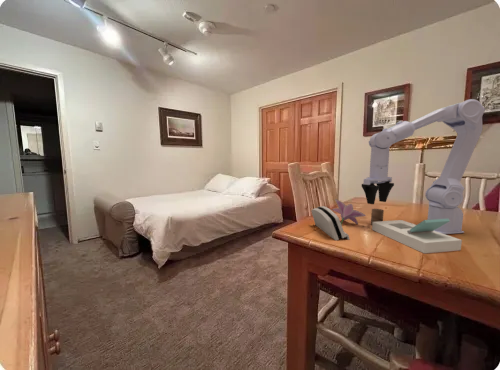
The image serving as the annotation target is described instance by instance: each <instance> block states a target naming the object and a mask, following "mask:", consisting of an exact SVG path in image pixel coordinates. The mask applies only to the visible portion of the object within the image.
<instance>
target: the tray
mask: <svg viewBox="0 0 500 370" xmlns="http://www.w3.org/2000/svg"><path fill="white" fill-rule="evenodd" d="M416 225H417V224H415V223H412V222H409V221H406V220H402V219H397V220H395V219H393V220H383V221H377V222H372V225H371V230H372V231H374V232H376V233H378V234H381V235H383V236H385V237H387V238H389V239H392V240H394V241H396V242H398V243H401V244H402V245H405V246H406V247H409V248H411V249H413V250H416V251H418V252H420V253H422V254H432V253H434V254H435V253H444V252H453V251H454V252H455V251H456V252H457V251H461V249H462V242H463V240H462V239H460V238H458V237H454V236H451V235H449V234H442V233H439V232H436V231H433V232H421V233H408V232H407V231H408V230H410V229H412V228H413V227H415V226H416Z"/></svg>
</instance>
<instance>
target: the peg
mask: <svg viewBox="0 0 500 370" xmlns="http://www.w3.org/2000/svg"><path fill="white" fill-rule="evenodd" d="M370 213H371V216H370V217H371V219H370V225H371V226H372V222H377V221H384V213H385V211H384V209H382V208H371V212H370Z"/></svg>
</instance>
